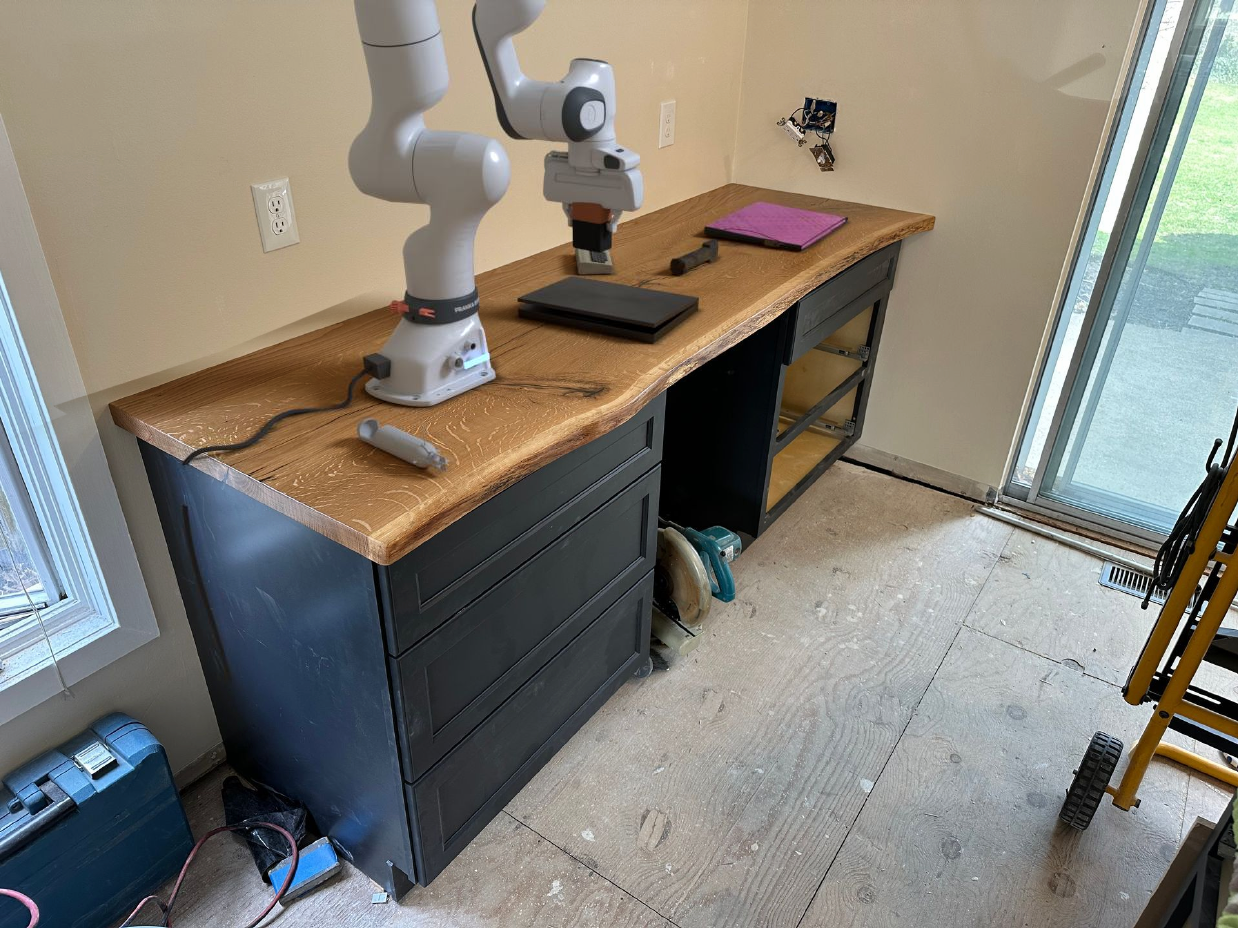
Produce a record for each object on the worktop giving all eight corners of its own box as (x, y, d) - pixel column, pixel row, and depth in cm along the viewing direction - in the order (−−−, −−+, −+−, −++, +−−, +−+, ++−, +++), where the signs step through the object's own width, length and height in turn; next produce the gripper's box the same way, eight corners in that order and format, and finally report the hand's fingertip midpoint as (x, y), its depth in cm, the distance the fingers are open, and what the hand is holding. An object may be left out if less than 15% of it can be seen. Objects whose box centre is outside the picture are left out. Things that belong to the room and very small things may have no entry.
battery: (584, 243, 172) (584, 192, 167) (612, 249, 169) (613, 196, 164) (571, 248, 169) (570, 195, 164) (599, 254, 165) (599, 200, 161)
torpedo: (349, 444, 126) (343, 403, 122) (376, 432, 129) (370, 392, 126) (434, 483, 116) (429, 440, 113) (460, 469, 119) (455, 427, 116)
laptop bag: (758, 195, 251) (849, 209, 239) (757, 209, 253) (847, 224, 241) (696, 223, 221) (797, 241, 209) (695, 239, 223) (795, 257, 211)
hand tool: (683, 277, 196) (684, 257, 193) (669, 274, 198) (669, 254, 195) (727, 259, 209) (728, 239, 206) (712, 256, 211) (714, 237, 209)
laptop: (653, 344, 160) (653, 334, 159) (518, 317, 172) (517, 308, 171) (698, 310, 176) (698, 301, 176) (571, 288, 189) (571, 279, 188)
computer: (613, 274, 197) (613, 260, 196) (578, 275, 197) (577, 260, 195) (608, 255, 211) (608, 241, 209) (575, 255, 210) (574, 242, 209)
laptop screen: (654, 328, 159) (654, 323, 158) (517, 302, 171) (517, 298, 170) (698, 301, 176) (699, 297, 175) (571, 280, 188) (571, 275, 187)
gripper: (535, 152, 162) (538, 226, 169) (632, 162, 154) (631, 240, 160) (552, 147, 167) (554, 219, 174) (648, 156, 158) (646, 232, 165)
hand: (592, 229), depth 167 cm, fingers closed on battery, 7 cm apart
